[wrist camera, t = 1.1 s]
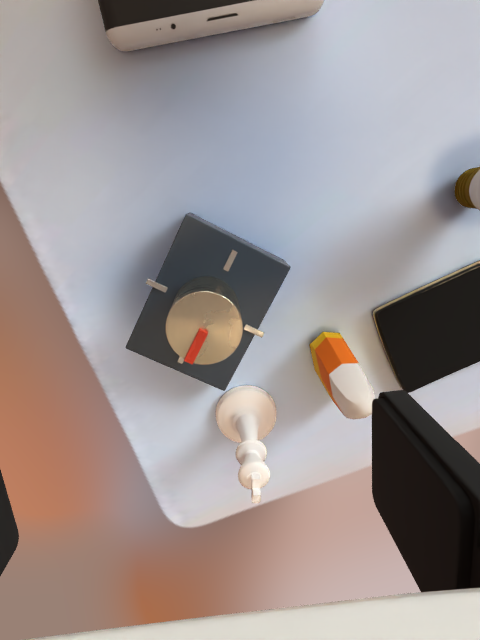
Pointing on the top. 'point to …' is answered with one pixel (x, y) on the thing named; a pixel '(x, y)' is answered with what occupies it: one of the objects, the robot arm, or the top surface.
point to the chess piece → (248, 432)
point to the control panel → (208, 261)
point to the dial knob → (204, 321)
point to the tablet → (191, 18)
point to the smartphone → (433, 328)
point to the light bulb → (469, 188)
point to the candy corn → (342, 375)
